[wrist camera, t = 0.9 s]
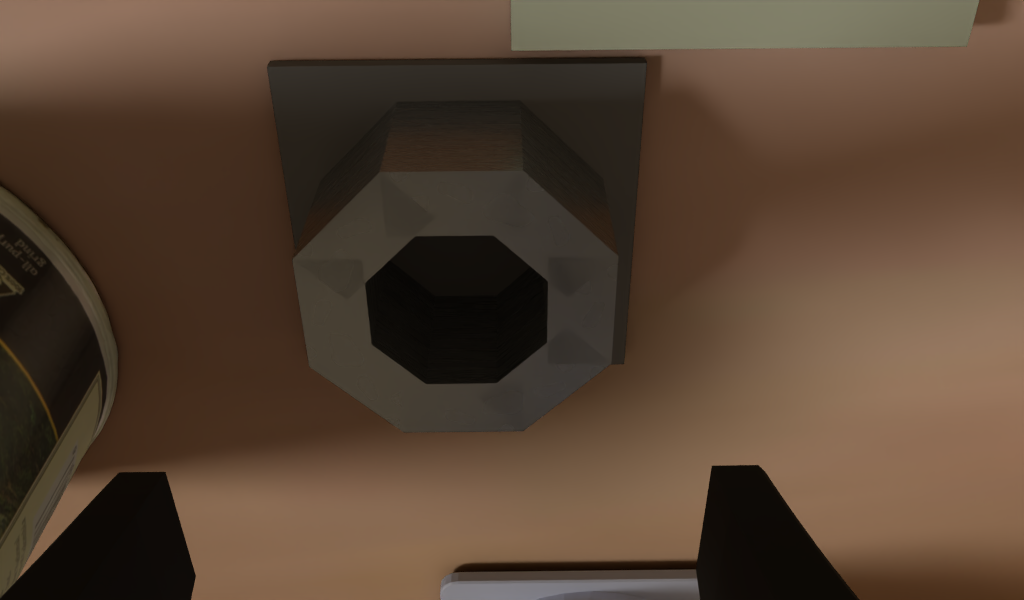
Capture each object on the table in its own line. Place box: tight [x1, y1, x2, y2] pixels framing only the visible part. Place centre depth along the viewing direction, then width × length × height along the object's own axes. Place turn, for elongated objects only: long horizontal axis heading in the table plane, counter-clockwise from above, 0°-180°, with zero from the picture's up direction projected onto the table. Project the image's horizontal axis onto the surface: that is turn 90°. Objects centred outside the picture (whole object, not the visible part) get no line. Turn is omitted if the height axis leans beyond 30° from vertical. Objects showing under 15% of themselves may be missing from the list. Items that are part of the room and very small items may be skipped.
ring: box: [292, 100, 618, 432], centre depth 18 cm, size 6×6×3 cm
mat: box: [267, 58, 647, 364], centre depth 19 cm, size 7×7×1 cm
